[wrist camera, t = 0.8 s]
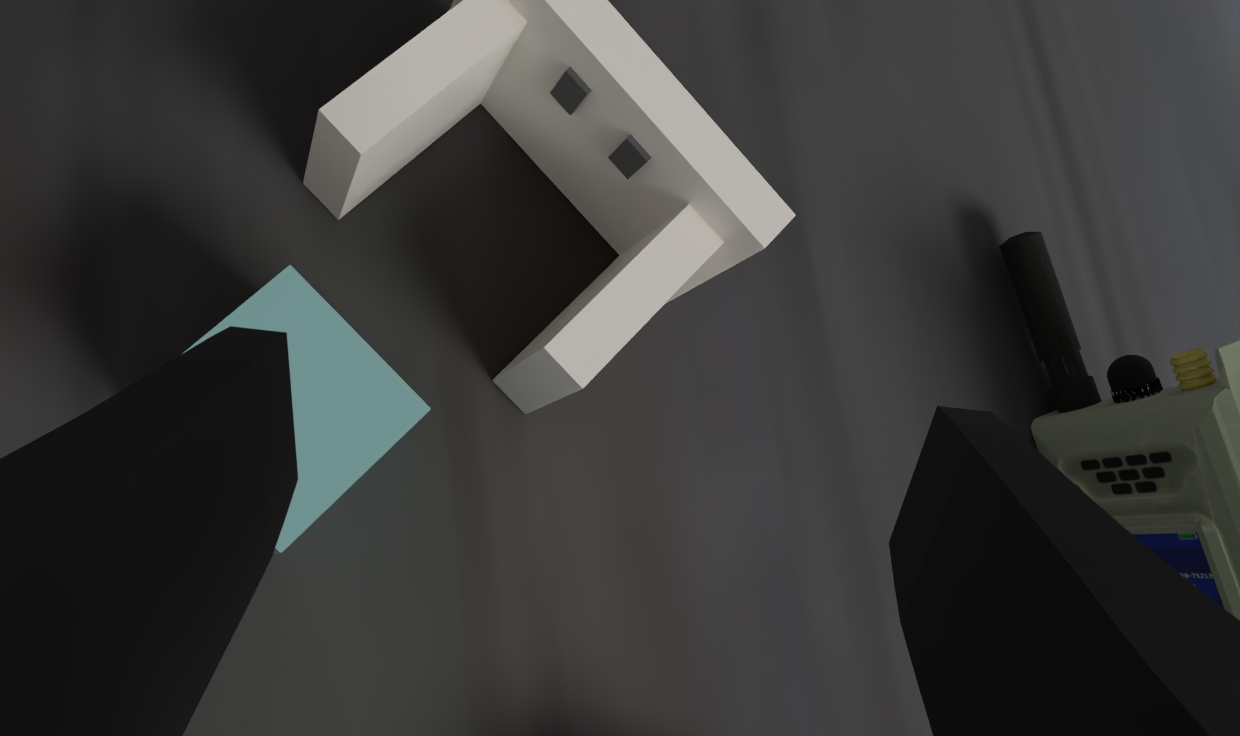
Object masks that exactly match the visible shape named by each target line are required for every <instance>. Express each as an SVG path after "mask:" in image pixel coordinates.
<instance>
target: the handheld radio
mask: <svg viewBox="0 0 1240 736" xmlns="http://www.w3.org/2000/svg"><path fill="white" fill-rule="evenodd" d="M999 248H1000V251H1001V254H1002V256H1003V259H1004V262H1005V265H1006V268H1007V271H1008V273H1009V276H1010V279H1011V282H1012V285H1013V287H1014V290H1015V293H1016V296H1017V299H1018V301H1019V304H1020V307H1021V310H1022V313H1023V315H1024V318H1025V321H1026V324H1027V327H1028V330H1029V332H1030V335H1031V338H1032V341H1033V344H1034V346H1035V349H1036V352H1037V355H1038V358H1039V360H1040V362H1041V361H1044V363H1045V366H1046V369H1047V372H1048V374H1049V377H1050V380H1051V383H1052V386H1053V387H1051V388H1050V391H1051V394H1052V397H1053V400H1054V403H1055V405H1056V408H1057V410H1056V411H1053V412H1051V413H1048V414H1045V415H1043V416H1040V417H1038V418H1035V419H1034V421H1033V423H1032V425H1031V430H1032V435H1033V438H1034V440H1035V443H1036V446H1037V449H1038V451H1039V452H1040V453H1041V454H1042V455H1043V456H1044V457H1045V458H1046V459H1048V460H1049V461H1050V462H1051V463H1052V464H1053V465H1054V466H1055V467H1056V468H1058V469H1059V470H1060V471H1061V472H1062V473H1063V474H1064V475H1065V476H1066V477H1068V478H1069V479H1070V480H1071V481H1072V482H1073V483H1074V484H1075V485H1076V486H1078V487H1079V488H1080V489H1081V490H1082V491H1083V492H1084V493H1085V494H1087V495H1088V496H1089V497H1090V498H1091V499H1092V500H1093V501H1094V502H1096V503H1097V504H1098V505H1099V506H1100V507H1101V508H1102V509H1103V510H1105V511H1106V512H1107V513H1108V514H1109V515H1110V516H1111V517H1113V518H1114V519H1115V520H1116V521H1117V522H1118V523H1119V524H1121V525H1122V526H1123V527H1124V528H1125V529H1126V530H1128V531H1129V532H1130V533H1131V534H1132V535H1133V536H1135V537H1136V538H1137V539H1138V540H1139V541H1140V542H1142V543H1143V544H1144V545H1145V546H1146V547H1148V548H1149V549H1150V550H1151V551H1152V552H1154V553H1155V554H1156V555H1157V556H1158V557H1160V558H1161V559H1162V560H1163V561H1164V562H1166V563H1167V564H1168V565H1169V566H1171V567H1172V568H1173V569H1174V570H1176V571H1177V572H1178V573H1179V574H1181V575H1182V576H1183V577H1184V578H1186V579H1187V580H1188V581H1189V582H1191V583H1192V584H1193V585H1195V586H1196V587H1197V588H1198V589H1200V590H1201V591H1202V592H1203V593H1205V594H1206V595H1207V596H1208V597H1210V598H1211V599H1212V600H1213V601H1215V602H1216V603H1217V604H1219V605H1220V606H1221V607H1222V608H1224V609H1225V610H1226V611H1228V612H1229V613H1230V614H1232V615H1233V616H1235V617H1236V618H1237V619H1239V620H1240V339H1237V340H1234V341H1232V342H1230V343H1227V344H1225V345H1222V346H1220V347H1218V348H1217V349H1216V350H1215V358H1216V364H1217V369H1218V374H1219V379H1218V380H1216V379H1217V378H1216V376H1215V375H1212V372H1213V371H1214V369H1213V367H1210V366H1209V364H1210V363H1211V361H1210V359H1207V358H1206V356H1207V355H1208V353H1207V351H1204V350H1203V349H1202V348H1200V349H1194V350H1190V351H1186V352H1183V353H1180V354H1177V355H1174V356H1172V357H1171V359H1172V360H1171V361H1170V364H1171V365H1174V367H1175V368H1174V369H1173V372H1174V373H1177V376H1176V380H1177V381H1180V384H1179V385H1178V386H1179V387H1173V388H1167V389H1163V388H1162V385H1161V383H1160V380H1159V378H1157V377H1156V375H1155V372H1154V369H1153V367H1152V365H1151V363H1150V362H1149V361H1148V360H1147V359H1145V358H1144V357H1141V356H1138V355H1126V356H1123V357H1120V358H1118V359H1116V360H1115V361H1114V362H1113V363H1112V364H1111V365H1110V367H1109V369H1108V372H1107V378H1108V382H1109V384H1110V387H1111V390H1112V391H1110V392H1111V393H1112V392H1114V396H1113V394H1112V398H1110V399H1104V400H1101V398H1100V396H1099V393H1098V390H1097V387H1096V384H1095V382H1094V379H1093V376H1088V374H1087V371H1086V368H1085V365H1084V362H1083V360H1082V357H1081V354H1080V351H1079V350H1080V349H1081V347H1080V344H1079V341H1078V338H1077V335H1076V332H1075V329H1074V326H1073V324H1072V321H1071V318H1070V315H1069V312H1068V309H1067V306H1066V303H1065V300H1064V297H1063V294H1062V292H1061V289H1060V286H1059V283H1058V280H1057V277H1056V274H1055V271H1054V268H1053V265H1052V263H1051V260H1050V257H1049V254H1048V251H1047V248H1046V245H1045V242H1044V239H1043V236H1042V233H1041V232H1025V233H1022V234H1019V235H1016V236H1013V237H1011V238H1009V239H1008V240H1007V241H1005V242H1004V243H1003V244H1002V245H1000V246H999ZM1147 384H1148V386H1147ZM1141 386H1142V387H1143V390H1144V391H1143V392H1142V387H1141ZM1147 387H1150V388H1149V392H1148V389H1147ZM1125 390H1126V392H1125ZM1120 391H1121V393H1120ZM1131 391H1133V392H1134V393H1133V392H1131ZM1116 392H1117V394H1116ZM1127 393H1128V394H1129V395H1128V394H1127ZM1135 393H1136V394H1135ZM1121 394H1122V395H1121Z"/></svg>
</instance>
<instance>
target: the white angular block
mask: <svg viewBox="0 0 1240 736" xmlns="http://www.w3.org/2000/svg"><path fill="white" fill-rule="evenodd" d="M479 104H481V105H482V106H483V107H484V108H485V109H486V110H487V111H488V112H489V113H490V114H491V115H492V117H493V118H494V119H495V120H496V121H497V122H498V123H499V124H500V125H501V126H502V128H503V129H504V130H505V131H506V132H507V133H508V134H509V135H510V136H511V137H512V138H513V140H514V141H515V142H516V143H517V144H518V145H519V146H520V147H521V148H522V149H523V150H524V152H525V153H526V154H527V155H528V156H529V157H530V158H531V159H532V160H533V161H534V163H535V164H536V165H537V166H538V167H539V168H540V169H541V170H542V171H543V172H544V173H545V175H546V176H547V177H548V178H549V179H550V180H551V181H552V182H553V183H554V184H555V185H556V187H557V188H558V189H559V190H560V191H561V192H562V193H563V194H564V195H565V196H566V197H567V199H568V200H569V201H570V202H571V203H572V204H573V205H574V206H575V207H576V208H577V210H578V211H579V212H580V213H581V214H582V215H583V216H584V217H585V218H586V219H587V220H588V222H589V223H590V224H591V225H592V226H593V227H594V228H595V229H596V230H597V231H598V232H599V234H600V235H601V236H602V237H603V238H604V239H605V240H606V241H607V242H608V243H609V244H610V246H611V247H612V248H613V249H614V250H615V251H616V252H617V253H618V254H619V256H618V257H617V258H616V259H615V260H614V261H613V262H612V263H611V264H610V265H609V266H608V267H607V268H606V269H605V270H604V271H603V272H602V273H601V274H600V275H599V276H598V277H597V278H596V279H595V280H594V281H593V282H592V283H591V284H590V285H589V286H588V287H587V288H586V289H585V290H584V291H583V292H582V293H581V294H580V295H579V296H578V297H577V298H576V299H575V300H574V301H573V302H571V303H570V304H569V305H568V306H567V307H566V308H565V309H564V310H563V311H562V312H561V313H560V314H559V315H558V316H557V317H556V318H555V319H554V320H553V321H552V322H551V323H550V324H549V325H548V326H547V327H546V328H545V329H544V330H543V331H542V332H541V333H540V334H539V335H538V336H537V337H536V338H535V339H534V340H533V341H532V342H531V343H530V344H529V345H528V346H527V347H526V348H525V349H524V350H522V351H521V352H520V353H519V354H518V355H517V356H516V357H515V358H514V359H513V360H512V361H511V362H510V363H509V364H508V365H507V366H506V367H505V368H504V369H503V370H502V371H501V372H500V373H499V374H498V375H497V376H496V377H495V378H494V379H493V380H492V381H493V382H494V383H495V384H496V385H497V386H498V387H499V388H500V389H501V390H502V391H503V392H504V393H505V394H506V395H507V396H508V397H509V398H510V399H511V400H512V401H513V402H514V403H515V404H516V406H517V407H518V408H519V409H520V410H521V411H522V412H523V413H524V414H527V413H529V412H532V411H534V410H536V409H538V408H541V407H543V406H545V405H547V404H550V403H552V402H554V401H556V400H559V399H561V398H563V397H565V396H568V395H570V394H572V393H574V392H577V391H579V390H581V389H583V388H584V387H585V386H586V385H587V384H588V383H589V382H590V381H591V380H592V379H593V378H594V377H595V375H596V374H597V373H598V372H599V371H600V370H601V369H602V368H603V367H604V366H605V365H606V364H607V363H608V362H609V361H610V360H611V359H612V358H613V357H614V356H615V355H616V354H617V353H618V352H619V351H620V350H621V349H622V347H623V346H624V345H625V344H626V343H627V342H628V341H629V340H630V339H631V338H632V337H633V336H634V335H635V334H636V333H637V332H638V331H639V330H640V329H641V328H642V327H643V326H644V325H645V324H646V323H647V322H648V321H649V320H650V318H651V317H652V316H653V315H654V314H655V313H656V312H657V311H658V310H659V309H660V308H661V307H662V306H663V305H664V304H665V303H667V302H669V301H671V300H673V299H674V298H676V297H678V296H680V295H682V294H683V293H685V292H687V291H689V290H691V289H692V288H694V287H696V286H698V285H700V284H701V283H703V282H705V281H707V280H709V279H710V278H712V277H714V276H716V275H718V274H719V273H721V272H723V271H725V270H727V269H728V268H730V267H732V266H734V265H736V264H737V263H739V262H741V261H743V260H745V259H746V258H748V257H750V256H752V255H754V254H755V253H757V252H759V251H761V250H763V249H764V248H766V246H767V245H768V244H769V243H770V242H771V241H772V240H773V239H774V238H775V237H776V236H777V235H778V234H779V233H780V232H781V230H782V229H783V228H784V227H785V226H786V225H787V224H788V223H789V222H790V221H791V220H792V219H793V218H794V217H795V216H796V215H795V214H794V213H793V211H792V210H791V209H790V208H789V207H788V206H787V205H786V203H785V202H784V201H783V200H782V199H781V198H780V197H779V195H778V194H777V193H776V192H775V191H774V190H773V189H772V187H771V186H770V185H769V184H768V183H767V182H766V181H765V179H764V178H763V177H762V176H761V175H760V174H759V173H758V171H757V170H756V169H755V168H754V167H753V166H752V165H751V163H750V162H749V161H748V160H747V159H746V158H745V157H744V155H743V154H742V153H741V152H740V151H739V150H738V149H737V147H736V146H735V145H734V144H733V143H732V142H731V141H730V139H729V138H728V137H727V136H726V135H725V134H724V133H723V131H722V130H721V129H720V128H719V127H718V126H717V125H716V123H715V122H714V121H713V120H712V119H711V118H710V117H709V115H708V114H707V113H706V112H705V111H704V110H703V109H702V107H701V106H700V105H699V104H698V103H697V102H696V101H695V99H694V98H693V97H692V96H691V95H690V94H689V93H688V91H687V90H686V89H685V88H684V87H683V86H682V85H681V83H680V82H679V81H678V80H677V79H676V78H675V77H674V75H673V74H672V73H671V72H670V71H669V70H668V69H667V67H666V66H665V65H664V64H663V63H662V62H661V61H660V59H659V58H658V57H657V56H656V55H655V54H654V53H653V51H652V50H651V49H650V48H649V47H648V46H647V45H646V43H645V42H644V41H643V40H642V39H641V38H640V37H639V35H638V34H637V33H636V32H635V31H634V30H633V29H632V27H631V26H630V25H629V24H628V23H627V22H626V21H625V19H624V18H623V17H622V16H621V15H620V14H619V13H618V11H617V10H616V9H615V8H614V7H613V6H612V5H611V3H610V2H609V1H608V0H453V3H452V5H451V8H450V10H449V11H448V12H447V13H446V14H444V15H443V16H442V17H440V18H439V19H438V20H436V21H435V22H434V23H432V24H431V25H430V26H428V27H427V28H426V29H424V30H423V31H422V32H420V33H419V34H418V35H417V36H415V37H414V38H413V39H411V40H410V41H409V42H407V43H406V44H405V45H403V46H402V47H401V48H399V49H398V50H397V51H395V52H394V53H393V54H391V55H390V56H389V57H387V58H386V59H385V60H383V61H382V62H381V63H380V64H378V65H377V66H376V67H374V68H373V69H372V70H370V71H369V72H368V73H366V74H365V75H364V76H362V77H361V78H360V79H358V80H357V81H356V82H354V83H353V84H352V85H350V86H349V87H348V88H347V89H345V90H344V91H343V92H341V93H340V94H339V95H337V96H336V97H335V98H333V99H332V100H331V101H329V102H328V103H327V104H325V105H324V106H323V107H321V108H320V109H319V111H318V115H317V120H316V125H315V129H314V134H313V139H312V143H311V148H310V153H309V157H308V162H307V167H306V171H305V176H304V181H303V184H304V185H305V186H306V187H307V188H308V189H309V190H310V191H311V192H312V193H313V194H314V195H315V196H316V197H317V198H318V200H319V201H320V202H321V203H322V204H323V205H324V206H325V207H326V208H327V209H328V210H329V211H330V212H331V213H332V214H333V215H334V216H335V217H336V218H337V219H338V220H339V219H340V218H342V217H343V216H344V215H345V214H347V213H348V212H349V211H350V210H351V209H353V208H354V207H355V206H356V205H358V204H359V203H360V202H361V201H362V200H364V199H365V198H366V197H367V196H369V195H370V194H371V193H372V192H373V191H375V190H376V189H377V188H378V187H379V186H381V185H382V184H383V183H384V182H386V181H387V180H388V179H389V178H390V177H392V176H393V175H394V174H395V173H397V172H398V171H399V170H400V169H401V168H403V167H404V166H405V165H406V164H407V163H409V162H410V161H411V160H412V159H414V158H415V157H416V156H417V155H418V154H420V153H421V152H422V151H423V150H425V149H426V148H427V147H428V146H429V145H431V144H432V143H433V142H434V141H435V140H437V139H438V138H439V137H440V136H442V135H443V134H444V133H445V132H446V131H448V130H449V129H450V128H451V127H453V126H454V125H455V124H456V123H457V122H459V121H460V120H461V119H462V118H463V117H465V116H466V115H467V114H468V113H470V112H471V111H472V110H473V109H474V108H476V107H477V106H478V105H479Z"/></svg>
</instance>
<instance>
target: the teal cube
mask: <svg viewBox="0 0 1240 736" xmlns="http://www.w3.org/2000/svg"><path fill="white" fill-rule="evenodd" d="M230 326H233V327H242V328H251V329H260V330H269V331H277V332H286V333H287V342H288V354H289V367H290V380H291V393H292V405H293V418H294V431H295V444H296V456H297V469H298V481H297V484H296V488H295V491H294V494H293V497H292V500H291V503H290V506H289V509H288V512H287V515H286V518H285V521H284V524H283V527H282V530H281V533H280V535H279V538H278V541H277V544H276V547H275V550H274V552H275V553H282V552H283V551H284V550H285V549H286V548H287V547H288V546H289V545H290V544H291V543H292V542H293V541H294V540H295V539H296V538H297V537H298V536H299V535H301V534H302V533H303V532H304V531H305V530H306V529H307V528H308V527H309V526H310V525H311V524H312V523H313V522H314V521H315V520H316V519H317V518H318V517H319V516H320V515H321V514H322V513H323V512H324V511H325V510H327V509H328V508H329V507H330V506H331V505H332V504H333V503H334V502H335V501H336V500H337V499H338V498H339V497H340V496H341V495H342V494H343V493H344V492H345V491H346V490H347V489H348V488H349V487H350V486H351V485H352V484H354V483H355V482H356V481H357V480H358V479H359V478H360V477H361V476H362V475H363V474H364V473H365V472H366V471H367V470H368V469H369V468H370V467H371V466H372V465H373V464H374V463H375V462H376V461H377V460H378V459H380V458H381V457H382V456H383V455H384V454H385V453H386V452H387V451H388V450H389V449H390V448H391V447H392V446H393V445H394V444H395V443H396V442H397V441H398V440H399V439H400V438H401V437H402V436H403V435H404V434H406V433H407V432H408V431H409V430H410V429H411V428H412V427H413V426H414V425H415V424H416V423H417V422H418V421H419V420H420V419H421V418H422V417H423V416H424V415H425V414H426V413H427V412H428V411H429V410H430V409H431V408H430V407H429V406H428V405H427V404H426V403H425V402H424V401H423V400H422V399H421V398H420V397H419V396H418V395H417V394H416V393H415V392H414V391H413V390H412V389H411V388H410V387H409V386H408V385H407V384H406V383H405V382H404V381H403V380H402V379H401V378H400V377H399V376H398V374H397V373H396V372H395V371H394V370H393V369H392V368H391V367H390V366H389V365H388V364H387V363H386V362H385V361H384V360H383V359H382V358H381V357H380V356H379V355H378V354H377V353H376V352H375V351H374V350H373V349H372V348H371V347H370V346H369V345H368V344H367V343H366V342H365V341H364V340H363V339H362V338H361V337H360V336H359V335H358V334H357V333H356V332H355V330H354V329H353V328H352V327H351V326H350V325H349V324H348V323H347V322H346V321H345V320H344V319H343V318H342V317H341V316H340V315H339V314H338V313H337V312H336V311H335V310H334V309H333V308H332V307H331V306H330V305H329V304H328V303H327V302H326V301H325V300H324V299H323V298H322V297H321V296H320V295H319V294H318V293H317V292H316V291H315V290H314V289H313V288H312V286H311V285H310V284H309V283H308V282H307V281H306V280H305V279H304V278H303V277H302V276H301V275H300V274H299V273H298V272H297V271H296V270H295V269H294V268H293V267H292V266H291V265H289V266H288V267H287V268H286V269H284V270H283V271H282V272H281V273H279V274H278V275H277V276H276V277H275V278H273V279H272V280H271V281H270V282H269V283H267V284H266V285H265V286H264V287H262V288H261V289H260V290H259V291H258V292H256V293H255V294H254V295H253V296H252V297H250V298H249V299H248V300H247V301H245V302H244V303H243V304H242V305H241V306H239V307H238V308H237V309H236V310H235V311H233V312H232V313H231V314H230V315H229V316H227V317H226V318H225V319H224V320H222V321H221V322H220V323H219V324H218V325H216V326H215V327H214V328H213V329H212V330H210V331H209V332H208V333H207V334H205V335H204V336H203V337H202V338H201V339H199V340H198V341H197V342H196V343H195V344H193V345H192V346H191V347H190V348H188V349H187V350H186V351H188V350H189V349H191V348H193V347H194V346H196V345H198V344H199V343H201V342H203V341H204V340H206V339H208V338H210V337H211V336H213V335H215V334H217V333H219V332H221V331H222V330H224V329H226V328H228V327H230ZM186 351H185V352H186ZM185 352H184V353H185ZM182 354H183V353H182Z"/></svg>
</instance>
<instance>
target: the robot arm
mask: <svg viewBox="0 0 1240 736" xmlns="http://www.w3.org/2000/svg"><path fill="white" fill-rule="evenodd" d="M297 481H298V469H297V456H296V444H295V431H294V418H293V405H292V393H291V380H290V367H289V354H288V342H287V333H286V332H277V331H269V330H260V329H251V328H242V327H233V326H230V327H228V328H226V329H224V330H222V331H221V332H219V333H217V334H215V335H213V336H211V337H210V338H208V339H206V340H204V341H203V342H201V343H199V344H198V345H196V346H194V347H193V348H191V349H189V350H188V351H186V352H185V353H183V354H181V355H180V356H178V357H176V358H175V359H173V360H172V361H170V362H168V363H167V364H165V365H163V366H162V367H160V368H159V369H157V370H155V371H154V372H152V373H150V374H149V375H147V376H146V377H144V378H142V379H141V380H139V381H137V382H135V383H134V384H132V385H130V386H129V387H127V388H125V389H124V390H122V391H120V392H119V393H117V394H115V395H114V396H112V397H110V398H109V399H107V400H105V401H104V402H102V403H100V404H99V405H97V406H95V407H94V408H92V409H90V410H89V411H87V412H85V413H84V414H82V415H80V416H78V417H77V418H75V419H73V420H71V421H69V422H67V423H66V424H64V425H62V426H60V427H58V428H56V429H55V430H53V431H51V432H49V433H47V434H45V435H44V436H42V437H40V438H38V439H36V440H34V441H32V442H31V443H29V444H27V445H25V446H23V447H21V448H20V449H18V450H16V451H14V452H12V453H10V454H8V455H7V456H5V457H3V458H1V459H0V736H183V733H184V731H185V729H186V727H187V725H188V723H189V721H190V719H191V717H192V715H193V713H194V711H195V709H196V707H197V705H198V703H199V701H200V700H201V698H202V696H203V694H204V692H205V690H206V688H207V686H208V684H209V682H210V680H211V678H212V676H213V674H214V672H215V670H216V668H217V666H218V664H219V662H220V660H221V658H222V656H223V654H224V652H225V650H226V648H227V646H228V644H229V642H230V640H231V638H232V636H233V634H234V632H235V630H236V628H237V626H238V624H239V622H240V621H241V619H242V617H243V615H244V613H245V610H246V608H247V606H248V604H249V602H250V600H251V598H252V596H253V594H254V592H255V590H256V588H257V586H258V584H259V582H260V580H261V578H262V576H263V574H264V572H265V570H266V568H267V566H268V564H269V562H270V560H271V558H272V555H273V552H274V550H275V547H276V544H277V541H278V538H279V535H280V533H281V530H282V527H283V524H284V521H285V518H286V515H287V512H288V509H289V506H290V503H291V500H292V497H293V494H294V491H295V488H296V484H297ZM889 547H890V554H891V562H892V570H893V577H894V585H895V591H896V598H897V604H898V610H899V616H900V622H901V626H902V630H903V633H904V637H905V640H906V644H907V648H908V651H909V654H910V658H911V661H912V665H913V668H914V672H915V675H916V679H917V682H918V686H919V689H920V693H921V696H922V699H923V703H924V706H925V709H926V713H927V716H928V719H929V723H930V726H931V729H932V733H933V736H1240V620H1239V619H1237V618H1236V617H1235V616H1233V615H1232V614H1230V613H1229V612H1228V611H1226V610H1225V609H1224V608H1222V607H1221V606H1220V605H1219V604H1217V603H1216V602H1215V601H1213V600H1212V599H1211V598H1210V597H1208V596H1207V595H1206V594H1205V593H1203V592H1202V591H1201V590H1200V589H1198V588H1197V587H1196V586H1195V585H1193V584H1192V583H1191V582H1189V581H1188V580H1187V579H1186V578H1184V577H1183V576H1182V575H1181V574H1179V573H1178V572H1177V571H1176V570H1174V569H1173V568H1172V567H1171V566H1169V565H1168V564H1167V563H1166V562H1164V561H1163V560H1162V559H1161V558H1160V557H1158V556H1157V555H1156V554H1155V553H1154V552H1152V551H1151V550H1150V549H1149V548H1148V547H1146V546H1145V545H1144V544H1143V543H1142V542H1140V541H1139V540H1138V539H1137V538H1136V537H1135V536H1133V535H1132V534H1131V533H1130V532H1129V531H1128V530H1126V529H1125V528H1124V527H1123V526H1122V525H1121V524H1119V523H1118V522H1117V521H1116V520H1115V519H1114V518H1113V517H1111V516H1110V515H1109V514H1108V513H1107V512H1106V511H1105V510H1103V509H1102V508H1101V507H1100V506H1099V505H1098V504H1097V503H1096V502H1094V501H1093V500H1092V499H1091V498H1090V497H1089V496H1088V495H1087V494H1085V493H1084V492H1083V491H1082V490H1081V489H1080V488H1079V487H1078V486H1076V485H1075V484H1074V483H1073V482H1072V481H1071V480H1070V479H1069V478H1068V477H1066V476H1065V475H1064V474H1063V473H1062V472H1061V471H1060V470H1059V469H1058V468H1056V467H1055V466H1054V465H1053V464H1052V463H1051V462H1050V461H1049V460H1048V459H1046V458H1045V457H1044V456H1043V455H1042V454H1041V453H1040V452H1039V451H1037V450H1036V449H1035V448H1034V447H1033V446H1032V445H1031V444H1029V443H1028V442H1027V441H1026V440H1025V439H1024V438H1023V437H1021V436H1020V435H1019V434H1018V433H1017V432H1016V431H1014V430H1013V429H1012V428H1011V427H1010V426H1008V425H1007V424H1006V423H1005V422H1003V421H1002V420H1001V419H1000V418H998V417H997V416H996V415H994V414H993V413H992V412H985V411H976V410H968V409H959V408H950V407H941V406H937V408H936V411H935V414H934V417H933V420H932V422H931V425H930V428H929V431H928V434H927V437H926V439H925V442H924V445H923V448H922V451H921V454H920V456H919V459H918V462H917V465H916V468H915V471H914V473H913V476H912V479H911V482H910V485H909V487H908V490H907V493H906V496H905V499H904V502H903V504H902V507H901V510H900V513H899V516H898V519H897V521H896V524H895V527H894V530H893V533H892V535H891V538H890V541H889Z"/></svg>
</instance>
